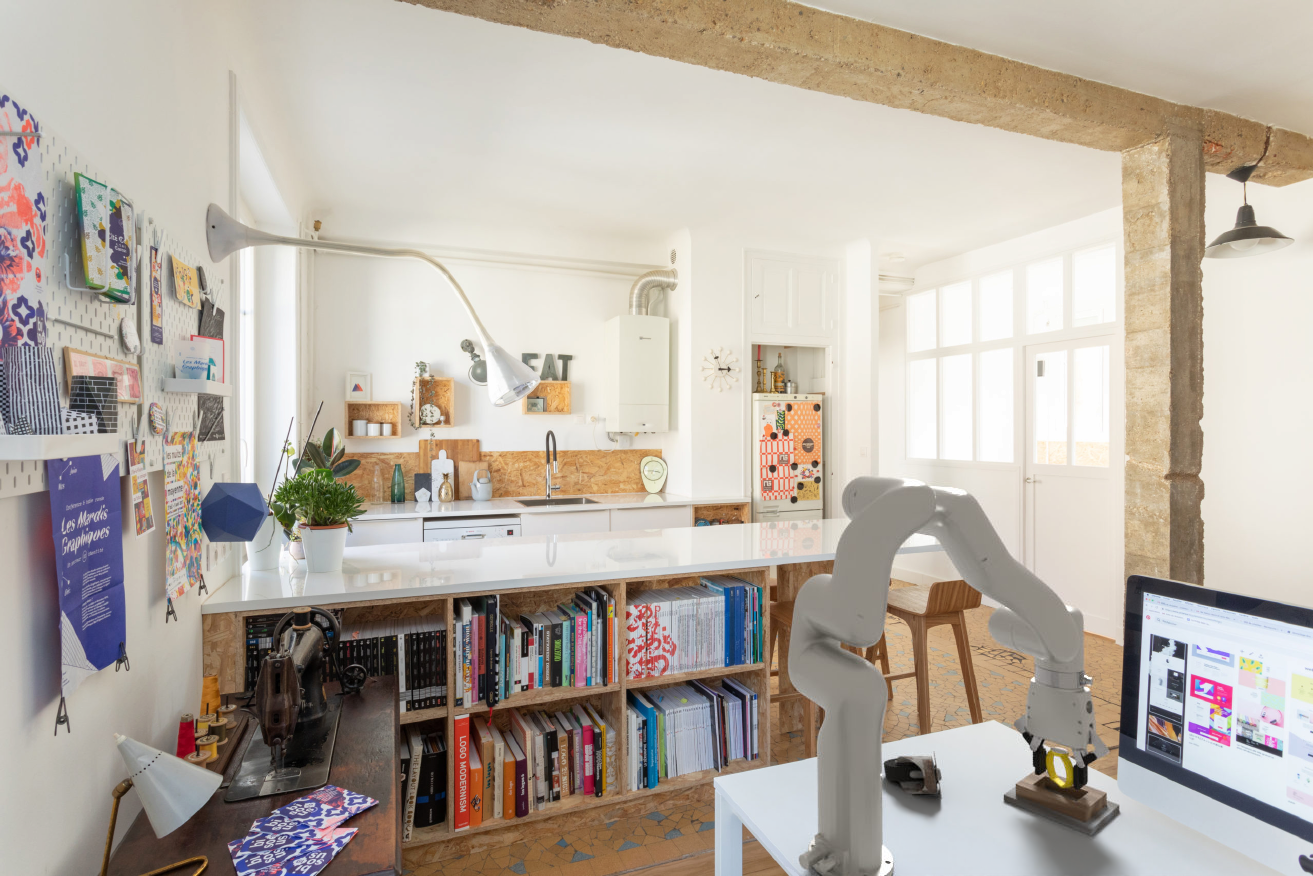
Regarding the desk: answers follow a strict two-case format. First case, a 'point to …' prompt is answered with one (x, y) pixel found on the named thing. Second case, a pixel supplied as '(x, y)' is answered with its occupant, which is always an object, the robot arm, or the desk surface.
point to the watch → (1067, 764)
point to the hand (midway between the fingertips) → (1059, 778)
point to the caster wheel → (914, 774)
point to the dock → (1063, 802)
